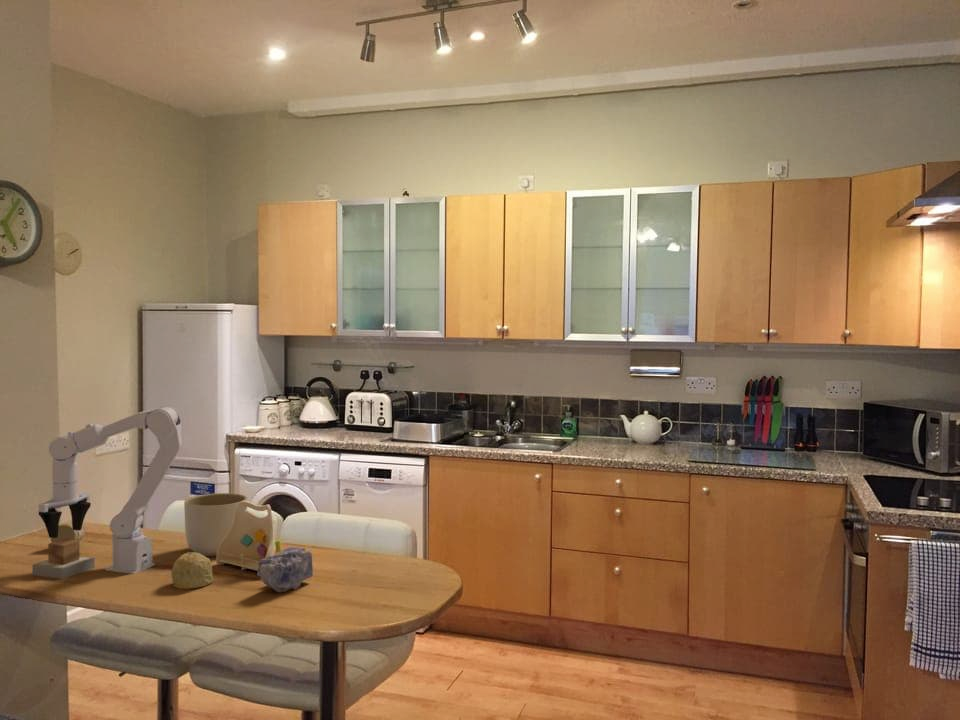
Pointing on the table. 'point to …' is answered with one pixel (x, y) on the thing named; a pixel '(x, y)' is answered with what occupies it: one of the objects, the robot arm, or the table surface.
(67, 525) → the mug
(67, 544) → the walnut cube
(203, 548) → the planter
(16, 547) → the table surface
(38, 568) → the grey plinth
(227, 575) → the table surface
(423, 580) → the table surface
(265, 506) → the shape sorter
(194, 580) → the decorative object
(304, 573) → the mineral
